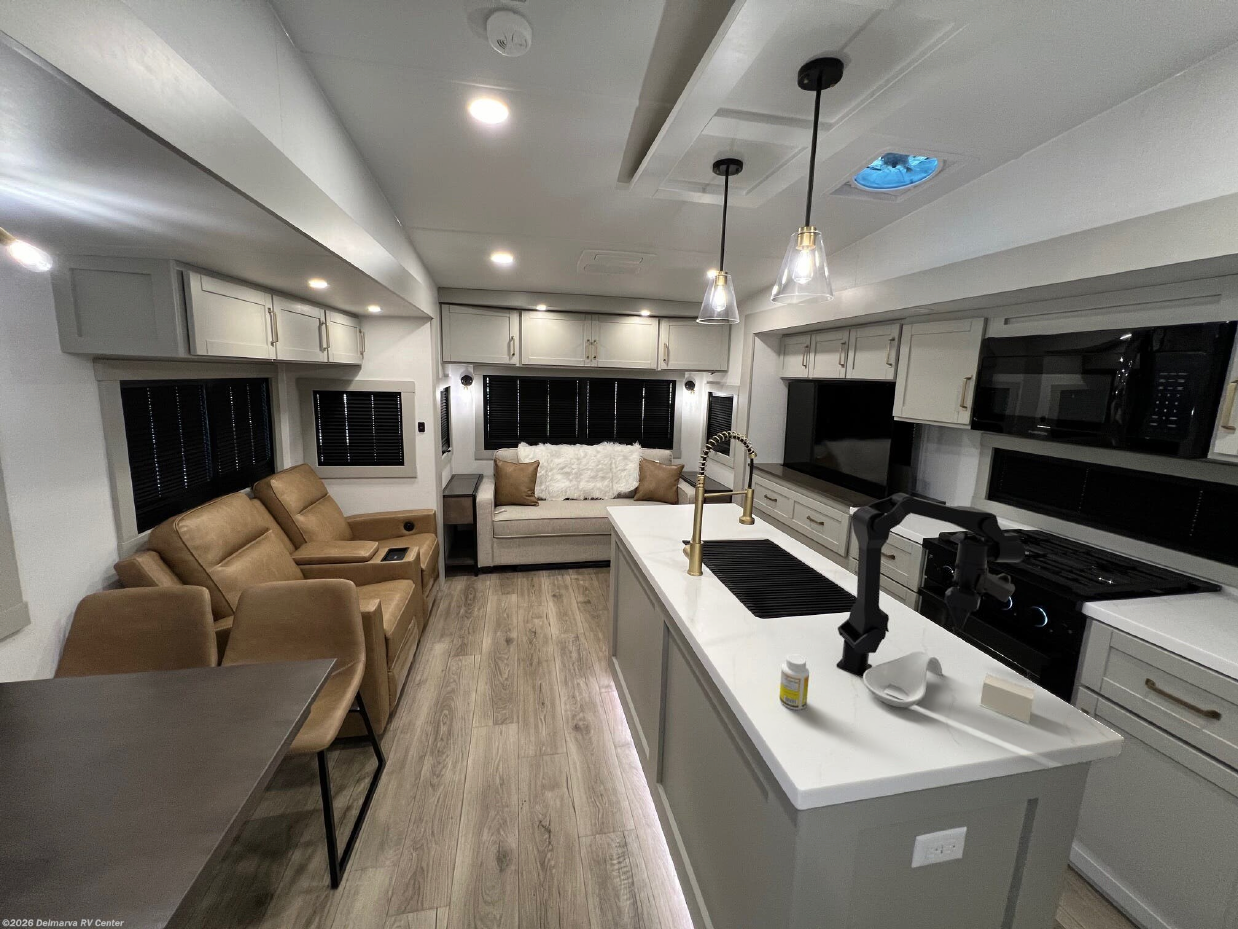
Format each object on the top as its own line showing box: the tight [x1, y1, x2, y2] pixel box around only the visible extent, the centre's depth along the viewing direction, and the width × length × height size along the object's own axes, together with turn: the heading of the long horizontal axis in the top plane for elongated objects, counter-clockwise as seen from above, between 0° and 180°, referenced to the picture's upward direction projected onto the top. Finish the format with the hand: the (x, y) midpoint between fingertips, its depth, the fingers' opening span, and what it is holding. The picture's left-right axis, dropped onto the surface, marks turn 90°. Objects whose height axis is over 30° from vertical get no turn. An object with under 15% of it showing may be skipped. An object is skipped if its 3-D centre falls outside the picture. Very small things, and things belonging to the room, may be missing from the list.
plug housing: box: [979, 673, 1035, 723], centre depth 101 cm, size 4×8×5 cm, turn 46°
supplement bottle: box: [779, 653, 810, 711], centre depth 103 cm, size 6×6×10 cm
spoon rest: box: [862, 650, 943, 708], centre depth 109 cm, size 24×12×7 cm, turn 123°
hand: (962, 622), depth 116 cm, fingers open, 9 cm apart
